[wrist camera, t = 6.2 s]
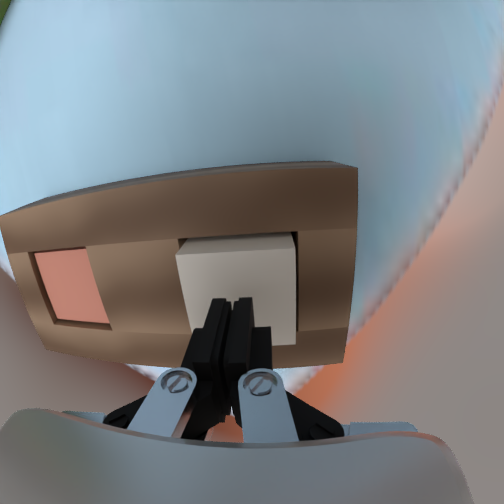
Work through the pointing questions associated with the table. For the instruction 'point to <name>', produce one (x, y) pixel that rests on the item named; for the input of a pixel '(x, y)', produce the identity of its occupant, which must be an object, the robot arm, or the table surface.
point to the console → (169, 243)
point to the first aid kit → (3, 8)
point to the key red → (71, 284)
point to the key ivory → (242, 278)
